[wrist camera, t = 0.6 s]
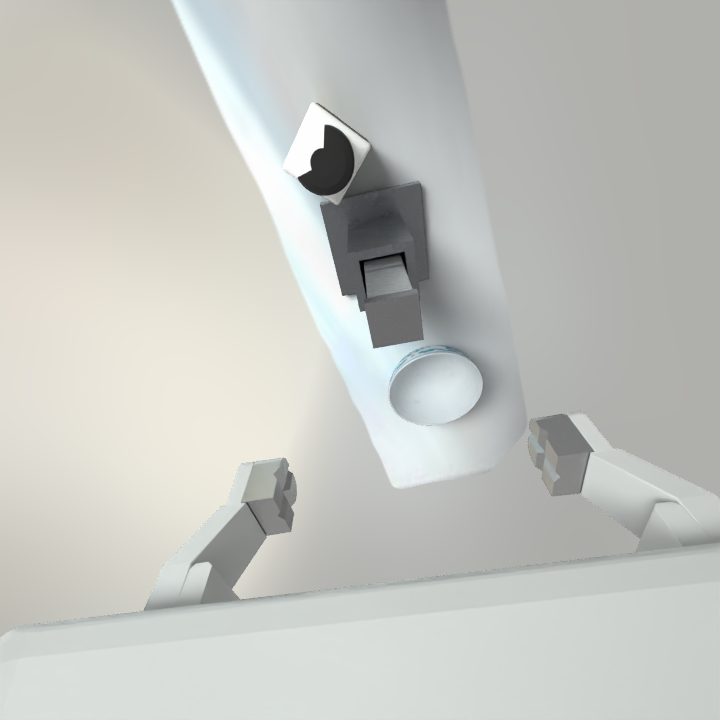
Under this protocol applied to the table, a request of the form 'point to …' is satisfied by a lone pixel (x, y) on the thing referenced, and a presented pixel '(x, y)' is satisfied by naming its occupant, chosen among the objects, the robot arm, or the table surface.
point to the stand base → (376, 234)
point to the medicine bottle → (326, 154)
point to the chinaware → (434, 386)
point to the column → (391, 302)
